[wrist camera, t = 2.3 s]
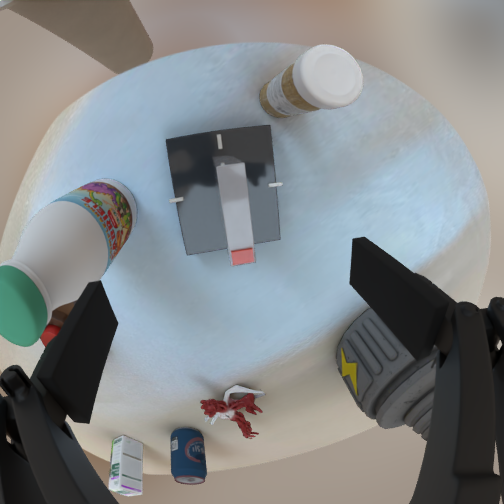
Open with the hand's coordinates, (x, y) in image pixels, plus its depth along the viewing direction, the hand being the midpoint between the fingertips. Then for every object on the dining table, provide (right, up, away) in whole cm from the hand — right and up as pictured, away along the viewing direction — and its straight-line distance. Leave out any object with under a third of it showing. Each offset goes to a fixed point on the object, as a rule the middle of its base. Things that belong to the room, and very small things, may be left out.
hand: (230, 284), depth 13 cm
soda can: (-13, -36, +34) cm, 51 cm away
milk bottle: (-15, +6, +14) cm, 22 cm away
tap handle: (-1, +7, +13) cm, 15 cm away
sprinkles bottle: (+4, +18, +13) cm, 22 cm away
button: (-25, -10, +15) cm, 31 cm away
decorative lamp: (+24, -14, +30) cm, 41 cm away
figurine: (-2, -24, +30) cm, 38 cm away
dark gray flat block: (-2, +9, +15) cm, 18 cm away
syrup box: (-28, -43, +33) cm, 61 cm away
